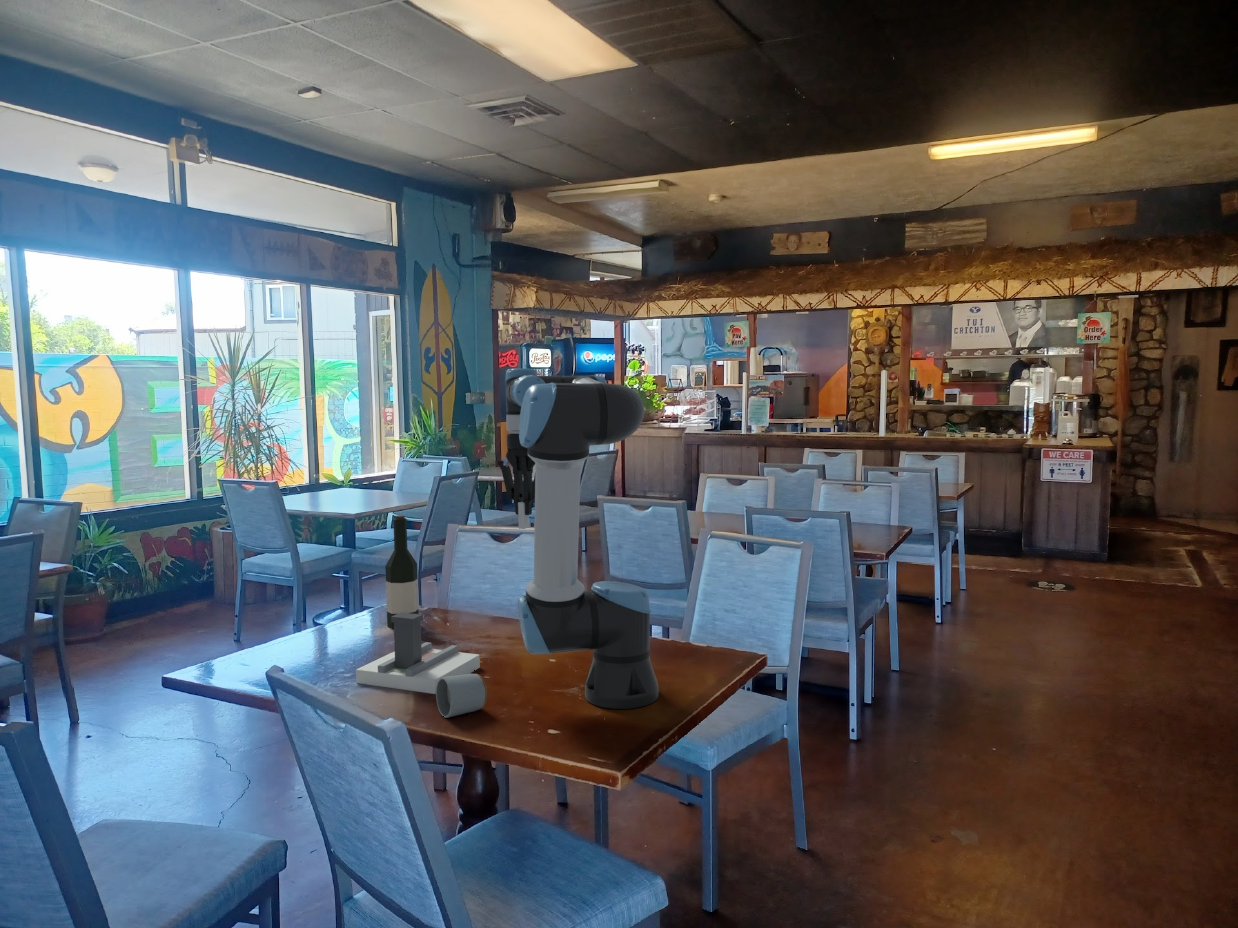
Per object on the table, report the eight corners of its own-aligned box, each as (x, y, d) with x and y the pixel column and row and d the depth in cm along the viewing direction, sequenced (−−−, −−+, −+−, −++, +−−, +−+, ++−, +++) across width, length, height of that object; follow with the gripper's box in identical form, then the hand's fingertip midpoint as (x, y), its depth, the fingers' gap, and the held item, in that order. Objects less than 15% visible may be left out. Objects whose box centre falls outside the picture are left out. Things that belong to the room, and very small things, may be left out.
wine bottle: (386, 622, 228) (383, 514, 225) (417, 619, 230) (414, 512, 228) (387, 630, 220) (384, 518, 217) (420, 627, 222) (416, 517, 220)
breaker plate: (479, 667, 189) (479, 648, 189) (435, 693, 172) (434, 672, 172) (406, 658, 196) (405, 639, 196) (356, 682, 180) (355, 662, 179)
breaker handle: (424, 664, 181) (422, 614, 180) (414, 669, 178) (413, 618, 177) (402, 662, 183) (401, 612, 182) (392, 667, 180) (391, 616, 179)
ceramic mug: (490, 713, 162) (488, 674, 161) (451, 723, 157) (450, 683, 156) (466, 698, 170) (465, 661, 170) (428, 707, 165) (427, 669, 165)
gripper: (552, 431, 203) (554, 526, 205) (505, 431, 208) (507, 524, 209) (539, 433, 196) (540, 531, 198) (490, 432, 201) (493, 529, 203)
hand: (523, 527), depth 204 cm, fingers closed
